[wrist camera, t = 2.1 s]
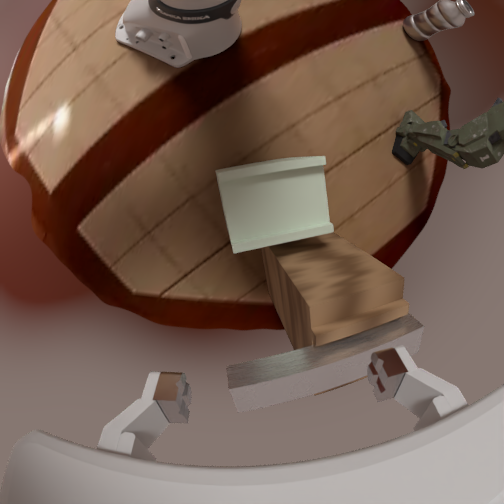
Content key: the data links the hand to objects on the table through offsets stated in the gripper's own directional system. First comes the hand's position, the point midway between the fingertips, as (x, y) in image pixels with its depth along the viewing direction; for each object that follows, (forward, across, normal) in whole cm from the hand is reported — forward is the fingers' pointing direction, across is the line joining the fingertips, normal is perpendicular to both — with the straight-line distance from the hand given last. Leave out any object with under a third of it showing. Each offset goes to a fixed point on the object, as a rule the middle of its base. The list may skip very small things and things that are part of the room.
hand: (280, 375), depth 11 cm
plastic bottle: (+45, +40, +37) cm, 71 cm away
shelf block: (+37, +1, 0) cm, 37 cm away
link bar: (+10, +6, -10) cm, 16 cm away
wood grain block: (+37, +6, -12) cm, 39 cm away
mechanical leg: (+42, +33, +10) cm, 54 cm away
